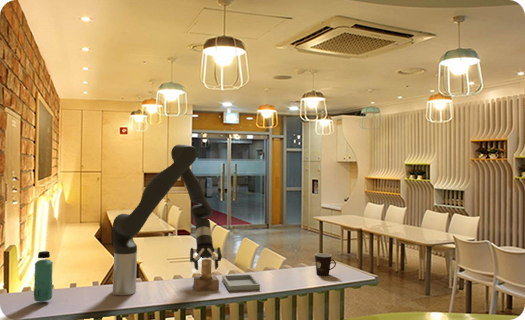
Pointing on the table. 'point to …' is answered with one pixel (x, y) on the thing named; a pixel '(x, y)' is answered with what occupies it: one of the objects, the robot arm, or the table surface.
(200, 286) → the walnut block
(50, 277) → the beverage bottle
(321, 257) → the coffee mug
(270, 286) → the table surface
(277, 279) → the table surface
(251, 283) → the slate grey tray
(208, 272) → the oak dowel
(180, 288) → the table surface
